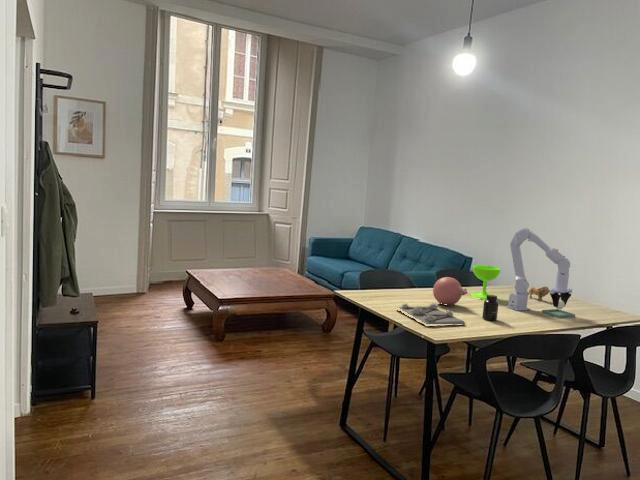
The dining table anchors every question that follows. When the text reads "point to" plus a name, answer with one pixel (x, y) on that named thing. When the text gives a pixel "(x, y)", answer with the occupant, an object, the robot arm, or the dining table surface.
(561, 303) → the ball
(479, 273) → the wineglass
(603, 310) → the dining table surface
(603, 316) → the dining table surface
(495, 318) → the supplement bottle
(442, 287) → the balloon
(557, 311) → the tray
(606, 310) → the dining table surface
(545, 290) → the lion figurine
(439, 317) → the grey bumpy flat slab
